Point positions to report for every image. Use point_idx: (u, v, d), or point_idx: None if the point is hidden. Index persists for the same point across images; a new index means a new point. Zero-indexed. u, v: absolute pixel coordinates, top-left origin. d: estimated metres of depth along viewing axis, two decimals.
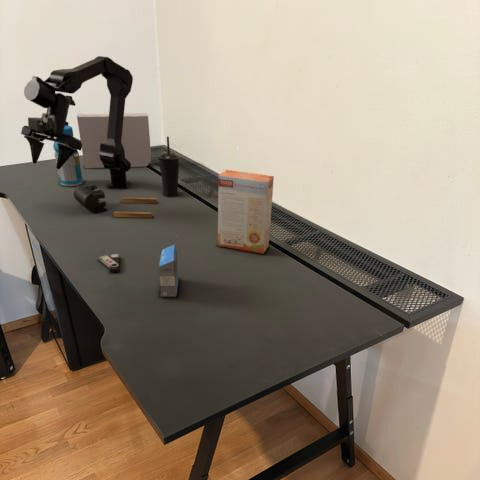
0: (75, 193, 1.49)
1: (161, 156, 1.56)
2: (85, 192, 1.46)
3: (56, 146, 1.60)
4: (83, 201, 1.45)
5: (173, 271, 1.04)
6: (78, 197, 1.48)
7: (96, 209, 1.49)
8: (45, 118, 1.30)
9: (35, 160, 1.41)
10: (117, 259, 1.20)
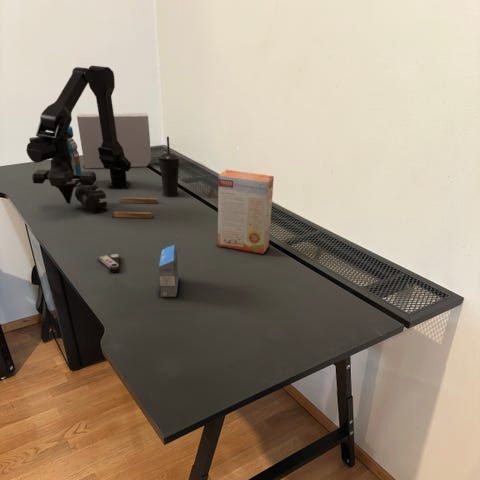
0: (76, 193, 1.49)
1: (161, 156, 1.56)
2: (86, 192, 1.46)
3: None
4: (84, 201, 1.45)
5: (173, 271, 1.04)
6: (79, 197, 1.48)
7: (97, 209, 1.49)
8: (66, 173, 1.38)
9: None
10: (117, 259, 1.20)
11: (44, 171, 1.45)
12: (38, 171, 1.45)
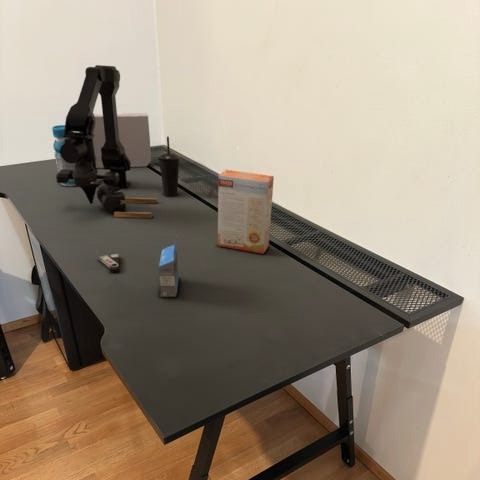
0: (97, 193, 1.50)
1: (161, 156, 1.56)
2: (105, 193, 1.46)
3: (56, 146, 1.60)
4: (102, 202, 1.45)
5: (173, 271, 1.04)
6: (99, 198, 1.48)
7: (116, 211, 1.49)
8: (91, 173, 1.38)
9: None
10: (117, 259, 1.20)
11: (68, 171, 1.45)
12: (62, 171, 1.45)
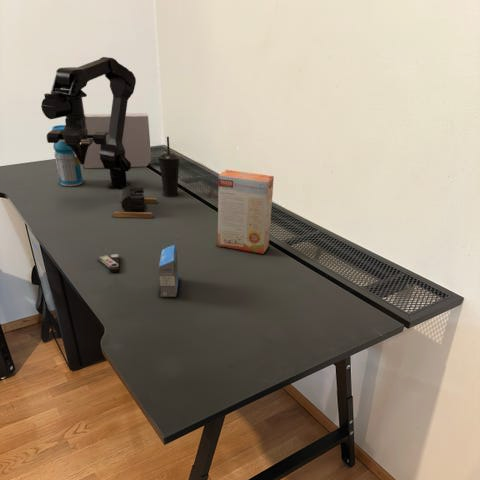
0: (122, 193, 1.51)
1: (161, 156, 1.56)
2: (126, 193, 1.46)
3: (56, 146, 1.60)
4: (121, 202, 1.46)
5: (173, 271, 1.04)
6: None
7: None
8: (81, 130, 1.39)
9: None
10: (117, 259, 1.20)
11: (58, 131, 1.46)
12: (52, 131, 1.46)
